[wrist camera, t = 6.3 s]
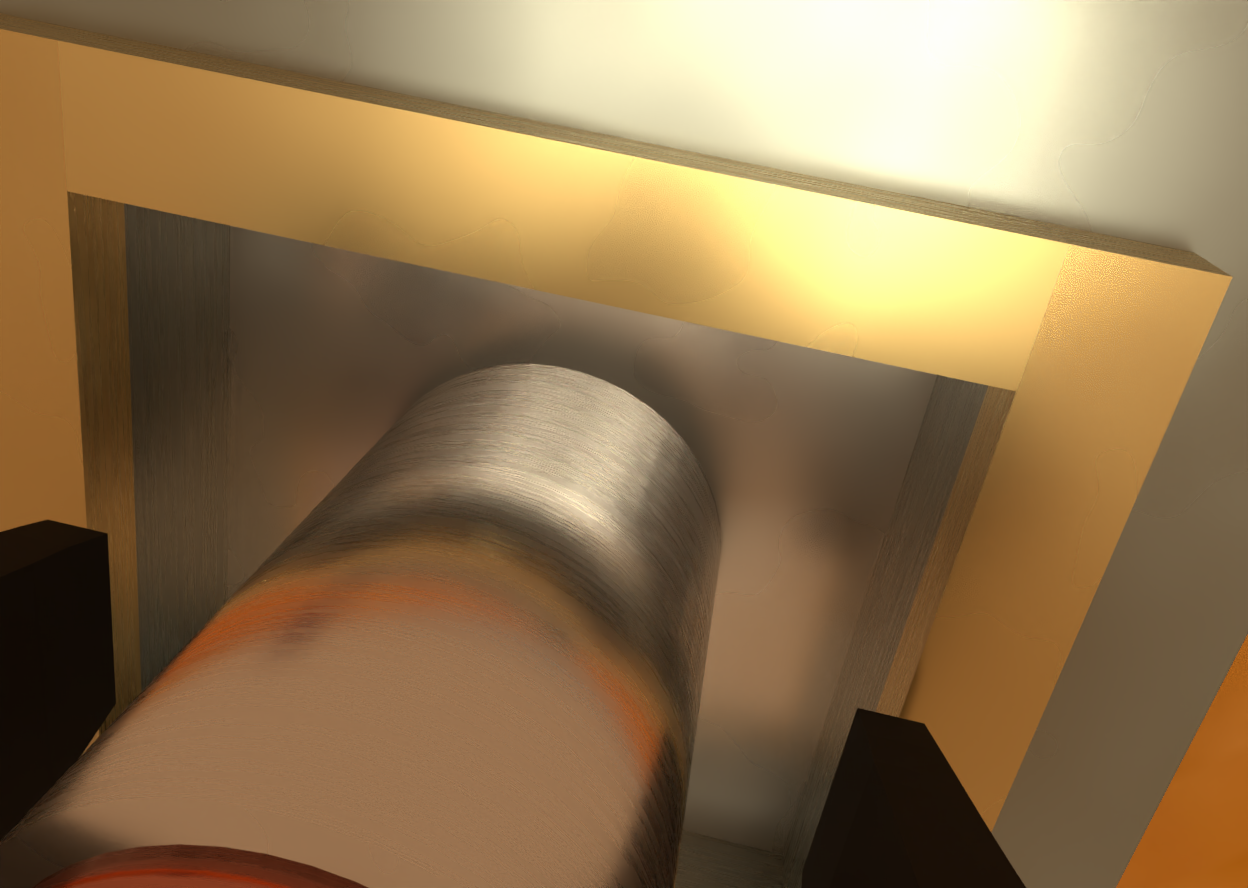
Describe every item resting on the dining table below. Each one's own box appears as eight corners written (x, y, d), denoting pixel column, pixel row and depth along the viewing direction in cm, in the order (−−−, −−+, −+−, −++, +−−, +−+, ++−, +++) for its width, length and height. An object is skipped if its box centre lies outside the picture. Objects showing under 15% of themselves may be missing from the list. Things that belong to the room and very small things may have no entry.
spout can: (668, 723, 13) (501, 1656, 6) (348, 626, 14) (-212, 1412, 6) (767, 426, 12) (708, 1231, 4) (395, 318, 12) (-326, 899, 4)
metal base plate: (875, 1110, 17) (896, 1389, 14) (90, 908, 18) (-73, 1122, 15) (1503, -324, 9) (1955, -524, 5) (-13, -570, 10) (-448, -876, 6)
